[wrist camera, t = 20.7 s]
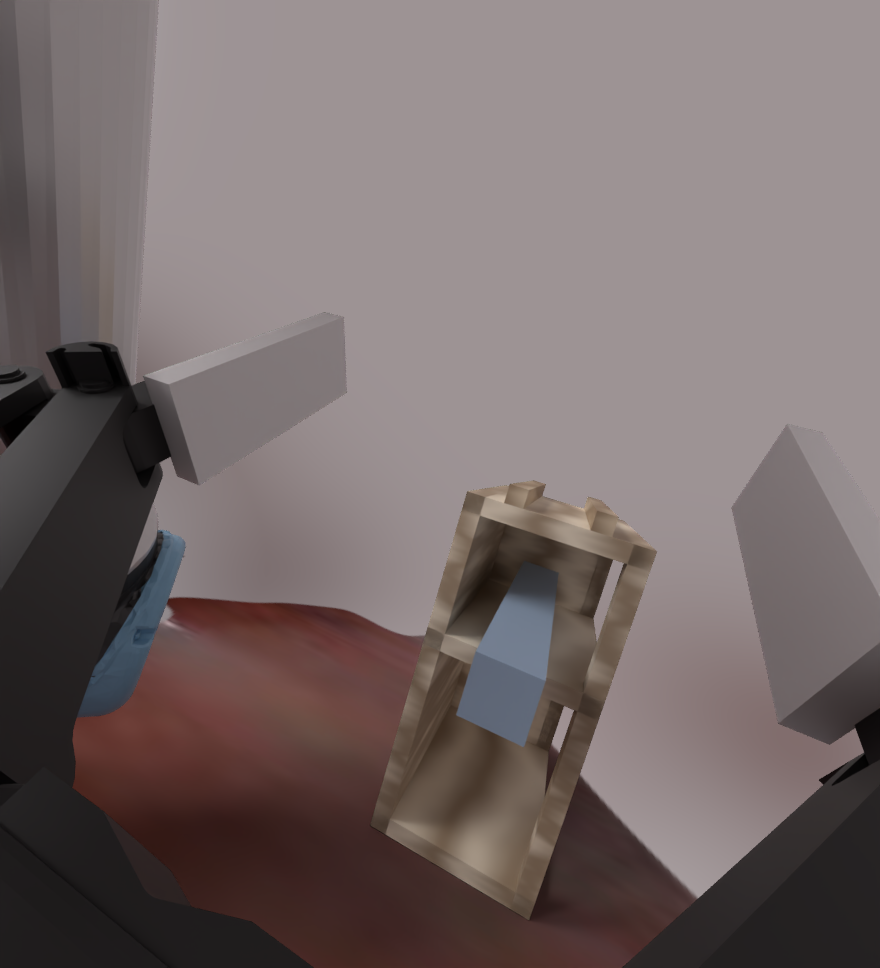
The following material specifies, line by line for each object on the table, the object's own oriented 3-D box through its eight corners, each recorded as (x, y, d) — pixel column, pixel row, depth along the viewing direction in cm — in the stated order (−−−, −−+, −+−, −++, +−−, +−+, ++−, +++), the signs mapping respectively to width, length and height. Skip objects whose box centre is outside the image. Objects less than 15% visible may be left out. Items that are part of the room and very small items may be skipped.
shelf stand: (370, 825, 36) (472, 472, 33) (440, 704, 55) (509, 473, 52) (529, 920, 32) (664, 530, 29) (545, 754, 51) (628, 508, 48)
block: (456, 715, 24) (475, 651, 24) (514, 592, 49) (524, 560, 49) (523, 747, 23) (545, 680, 23) (548, 605, 48) (558, 572, 48)
